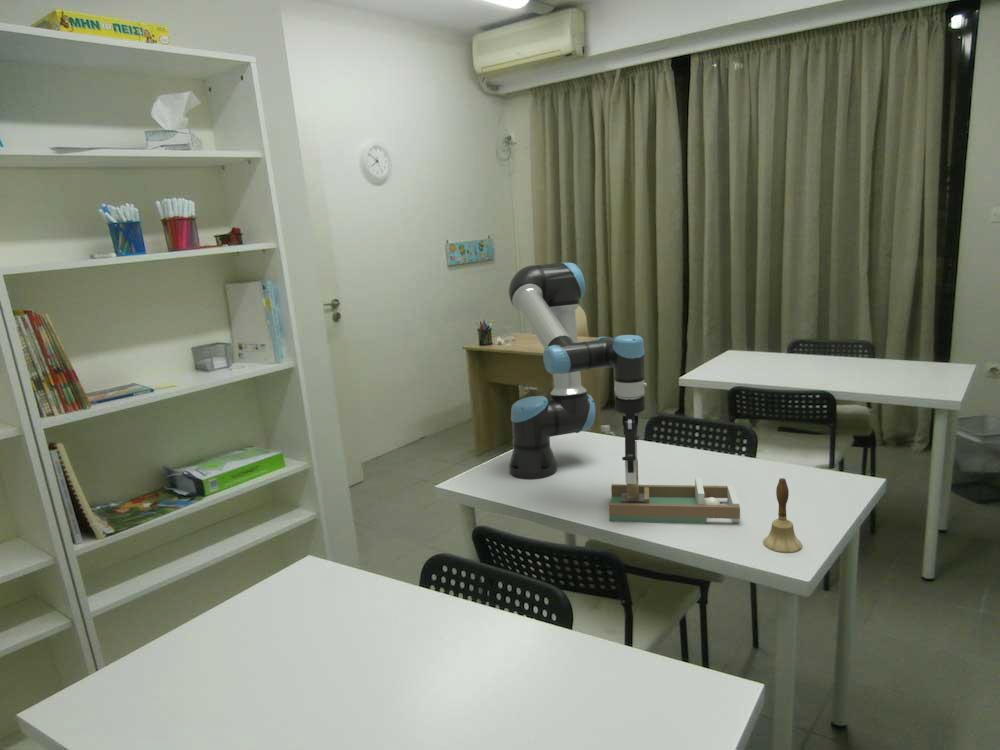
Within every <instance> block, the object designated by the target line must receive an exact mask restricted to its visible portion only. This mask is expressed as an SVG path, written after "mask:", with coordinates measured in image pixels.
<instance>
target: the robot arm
mask: <svg viewBox="0 0 1000 750" xmlns="http://www.w3.org/2000/svg"><path fill="white" fill-rule="evenodd" d="M585 291H586V283H585V278H584V275H583V273H582V270H581V269H580V268H579V266H578V265H577V264H575V263H573V262H556V263H554V262H553V263H545V264H536V265H535V264H533V265H527V266H524V267H522V268H521V269H519V270H517V272H516V273H515V274H514V276H513V277H512V278H511V280H510V283H509V286H508V297H509V300H510V302H511V304H512V306H513V307H514V309H515V310H516V311H518V312H520V313H521V314H522V315H523V317H524V319H525V320H526V321H527V324H528V325H529V327H530V328H531V329H532V331H533V332H534V334H535V336H536V337H537V339H538V341H539V343H540V344H541V345H542V347H543V349H544V350H543V355H542V359H543V364H544V368H545V370H546V371H547V373H549V374H550V375H553V383H554V384H553V385H554V388H553V389H552V390H551V392H549V393H550V399H548V398H547V397H546V396H543V395H536V396H533V395H532V396H527V397H525V398H521V399H519V400H517V401H515V402H514V403H513V404H512V405H511V410H510V411H511V413H510V414H511V415H510V421H511V428H512V429H511V430H512V441H513V442H512V446H513V449H512V454H511V458H510V462H509V474H510V475H511V476H514V477H515V478H519V479H528V480H533V479H534V480H535V479H542V478H546V477H550V476H551V475H554V474H555V473H556V472H557V470H558V467H557V465H558V464H557V460H556V458H555V456H554V453H553V449H552V447H551V442H550V441H551V437H552V438H553V437H556V436H562V435H563V436H564V435H568V434H578V433H580V432H584V431H588V430H590V429H591V428H592V426H593V425H594V422H595V419H596V403H595V402H594V398H593V397H592V395H591V394H588V393H587V392H588V391H587V389H586V387H584V386H583V385H582V376H581V372H582V371H586V370H587V371H590V370H596V369H597V370H598V369H604V368H611V369H613V370H614V371H613V372H614V380H613V381H614V384H613V385H614V395H615V397H614V404H615V406H614V407H615V411H616V412H618V413H619V414H625V415H622V426H623V427H622V428H623V429H622V430H623V435H624V456H622V458H621V459H622V461H624V467H625V468H624V470H625V471H624V472H625V473H624V474H625V477H624V478H625V485H627V484H637V481H636V460H638V442H637V441H640V435H638V426H639V415H637V414H639V413H643V412H644V411H645V409H646V400H645V399H646V398H645V396H644V395H645V387H647V386H648V384H647V382H645V348H644V347H645V346H644V345H645V344H644V339H643V338H642V336H640V335H636V334H620V335H618V336H615V337H611V336H600V337H598V338H596V339H594V340H589V341H581V342H580V341H578V331H577V329H578V328H577V321H576V320H577V318H576V309H577V308H578V307H579V306H580V299H582V298H583V297H585Z"/></svg>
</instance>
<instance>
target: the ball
mask: <svg viewBox="0 0 1000 750" xmlns="http://www.w3.org/2000/svg"><path fill="white" fill-rule="evenodd" d="M718 499H719V498H714V497H709V498H705V505H721V501H719V500H718Z"/></svg>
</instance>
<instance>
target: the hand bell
mask: <svg viewBox="0 0 1000 750" xmlns="http://www.w3.org/2000/svg"><path fill="white" fill-rule="evenodd" d="M775 491H776V496H775V497H776V501H777V503H778V518H777V519H773V520H772V521H771V522H772V523H771V528H770V532H769V534H768V535H767V536H766V537H765V538H763V541H762V543H763V546H764V547H766V548H767V549H769V550H771V551H774V552H778V553H786V554H787V553H790V554H791V553H796V552H799V551H801V550H802V548H803V543H802V541H800V540H799V539H798V537H797V536H796V533H795V529H794V524H793V522H792V521H790V520H788V519H787V503H788V500H789V492H790V491H789V486H788V484H787V480H786V478H785V477H783V478H782V477H781V478H779V480H778V483H777V486H776V489H775Z"/></svg>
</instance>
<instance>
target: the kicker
mask: <svg viewBox="0 0 1000 750" xmlns="http://www.w3.org/2000/svg"><path fill="white" fill-rule="evenodd" d="M638 461H639V460H638V459H637V460H636V481H637V484H626V485H627V493H622V497H621V503H635V504H649V487H644V494H639V485H640V484H639V464H638V463H639V462H638Z"/></svg>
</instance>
